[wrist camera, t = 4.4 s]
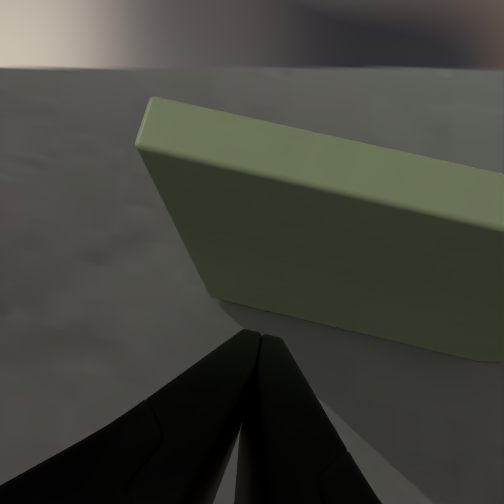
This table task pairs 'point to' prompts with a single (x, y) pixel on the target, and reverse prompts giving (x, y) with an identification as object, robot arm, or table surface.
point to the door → (333, 228)
